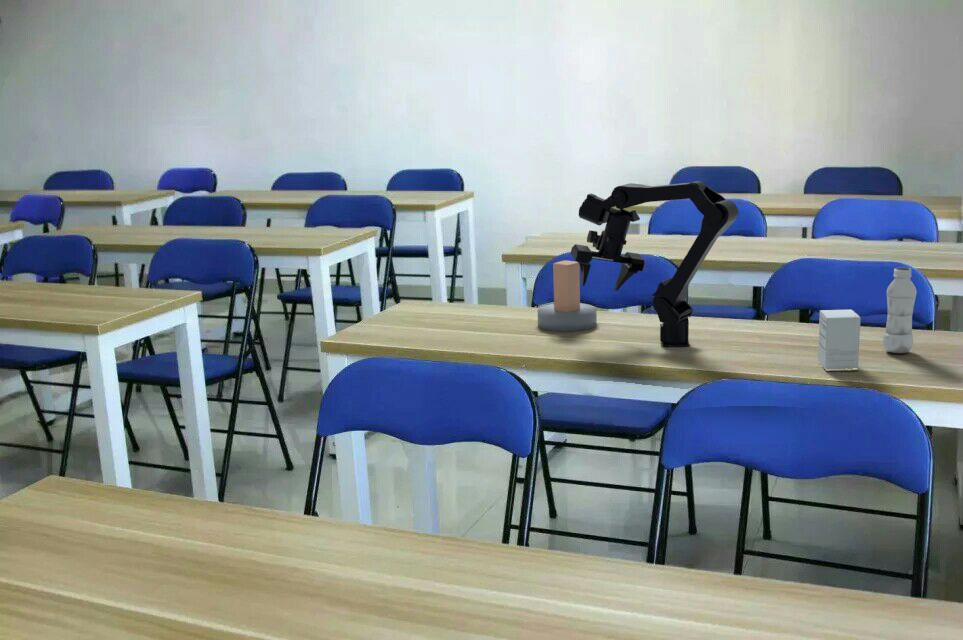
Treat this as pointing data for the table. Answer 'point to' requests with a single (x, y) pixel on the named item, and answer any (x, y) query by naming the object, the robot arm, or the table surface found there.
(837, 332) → the supplement box
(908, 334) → the plastic bottle
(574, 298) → the terracotta block
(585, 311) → the plinth
